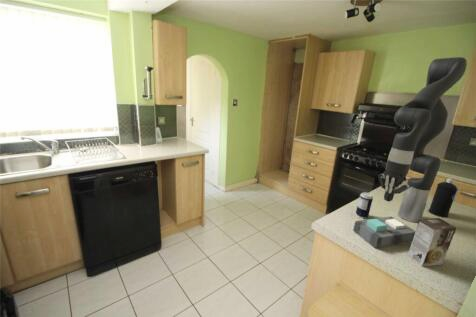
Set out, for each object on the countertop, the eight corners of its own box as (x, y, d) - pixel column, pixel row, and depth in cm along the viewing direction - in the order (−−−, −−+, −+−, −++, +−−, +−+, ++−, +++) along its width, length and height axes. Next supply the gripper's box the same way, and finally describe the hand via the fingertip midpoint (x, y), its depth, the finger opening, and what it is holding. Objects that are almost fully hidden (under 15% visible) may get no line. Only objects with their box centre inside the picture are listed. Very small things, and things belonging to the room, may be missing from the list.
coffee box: (426, 253, 89) (439, 217, 85) (442, 265, 83) (457, 227, 79) (406, 254, 88) (418, 218, 83) (422, 267, 82) (436, 229, 77)
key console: (388, 225, 107) (391, 216, 105) (413, 241, 96) (416, 231, 94) (353, 230, 101) (355, 221, 100) (375, 248, 90) (378, 237, 89)
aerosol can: (431, 215, 119) (443, 180, 113) (425, 208, 126) (437, 175, 120) (450, 219, 116) (464, 183, 110) (444, 211, 123) (456, 177, 117)
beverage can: (369, 219, 111) (375, 197, 108) (357, 217, 112) (362, 196, 109) (365, 213, 116) (371, 192, 113) (354, 212, 117) (359, 191, 114)
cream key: (392, 227, 102) (394, 218, 101) (402, 234, 98) (405, 225, 97) (383, 228, 101) (385, 219, 100) (393, 235, 97) (396, 226, 95)
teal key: (374, 227, 99) (376, 218, 98) (384, 234, 95) (386, 225, 93) (365, 228, 98) (367, 219, 97) (374, 235, 93) (377, 226, 92)
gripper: (423, 165, 82) (409, 207, 87) (391, 155, 94) (380, 193, 99) (408, 166, 80) (395, 209, 85) (377, 155, 92) (367, 194, 97)
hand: (387, 200), depth 92 cm, fingers closed
